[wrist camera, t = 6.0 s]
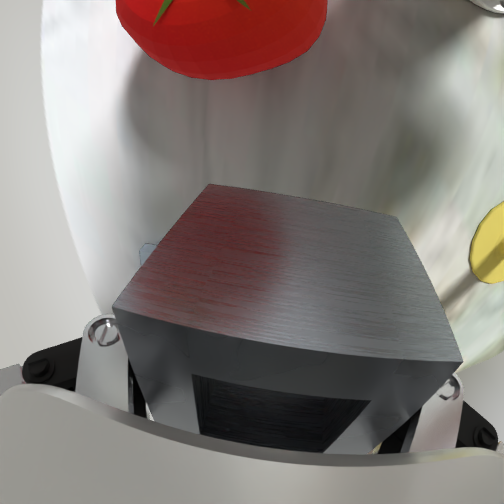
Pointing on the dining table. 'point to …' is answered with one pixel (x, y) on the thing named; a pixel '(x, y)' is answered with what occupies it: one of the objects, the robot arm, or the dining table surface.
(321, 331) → the brushed steel block
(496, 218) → the yellow disc stand
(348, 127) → the dining table surface
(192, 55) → the tomato
